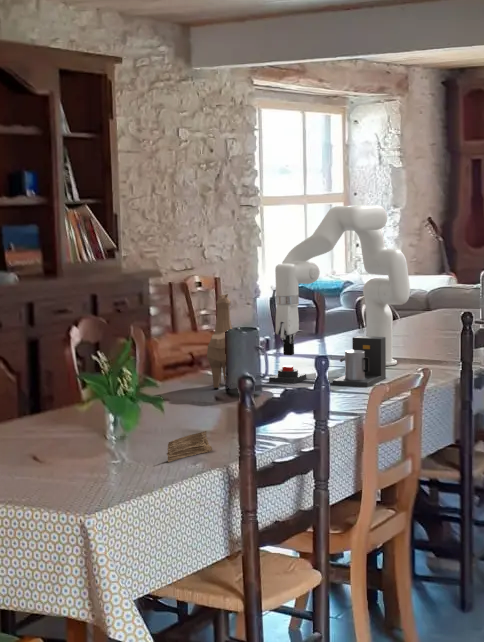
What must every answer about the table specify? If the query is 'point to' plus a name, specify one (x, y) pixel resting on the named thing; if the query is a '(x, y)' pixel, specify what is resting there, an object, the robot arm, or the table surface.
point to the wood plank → (188, 446)
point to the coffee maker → (377, 361)
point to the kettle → (355, 364)
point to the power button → (287, 368)
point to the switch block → (287, 377)
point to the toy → (219, 340)
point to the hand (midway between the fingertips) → (288, 354)
